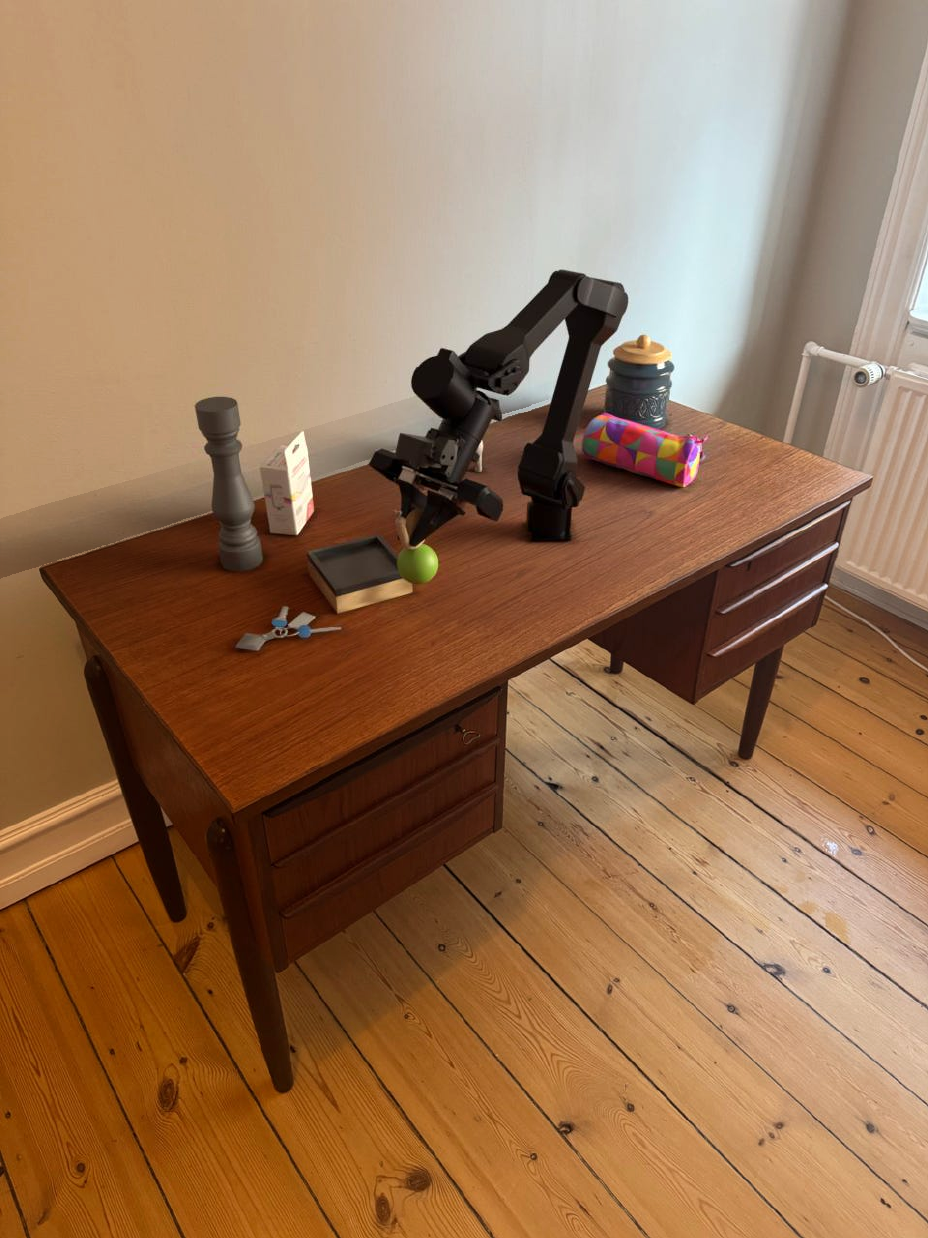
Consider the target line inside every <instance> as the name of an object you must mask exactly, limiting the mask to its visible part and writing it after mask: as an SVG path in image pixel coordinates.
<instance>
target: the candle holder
mask: <svg viewBox="0 0 928 1238" xmlns="http://www.w3.org/2000/svg"><path fill="white" fill-rule="evenodd" d="M194 409H195V415H196V420H197V427H198V430H199V431H200V432H201V434H202V436H203V437H204V438H205V440H206V443H205V445H204V447H203V449H204V452H205V454H206V455H208V456H209V457H210V461H211V467H212V473H213V478H212V479H213V483H212V492H211V493H212V495H211V506H210V507H211V511H212V514H213V515H214V517H215V519H216V520H217V521H218V522H219V524H220V525H221V529H220V530H219V532H218V535H217V537H218V539H219V541H218V543H217V547H218V552H219V557H220V563H221V565H222V568H224V569H225V570H227V571H232V572H246V571H250V570H253V569H255V568H257V567H259V566H260V565H261V564H262V562H263V559H264V558H263V552H262V543H261V538H260V537H259V535H258V530H257V529H256V527H255V526H254V525H253V524H252V523H251V521H252V516H253V514H254V511H255V501H254V499H253V496H252V494H251V491H250V489H249V487H248V485H247V482H246V480H245V477H244V475H243V473H242V468H241V461H240V452H241V451H242V448H243V444H242V443H243V442H242V441H241V440H239V439H237V438H238V434H239V432H240V427H241V417H240V410H239V404H238V401H237V399H235V398H233V397H229V396H212V397H207V398H203V399H201V400H199V401H197V402H196V403H195V404H194Z"/></svg>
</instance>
